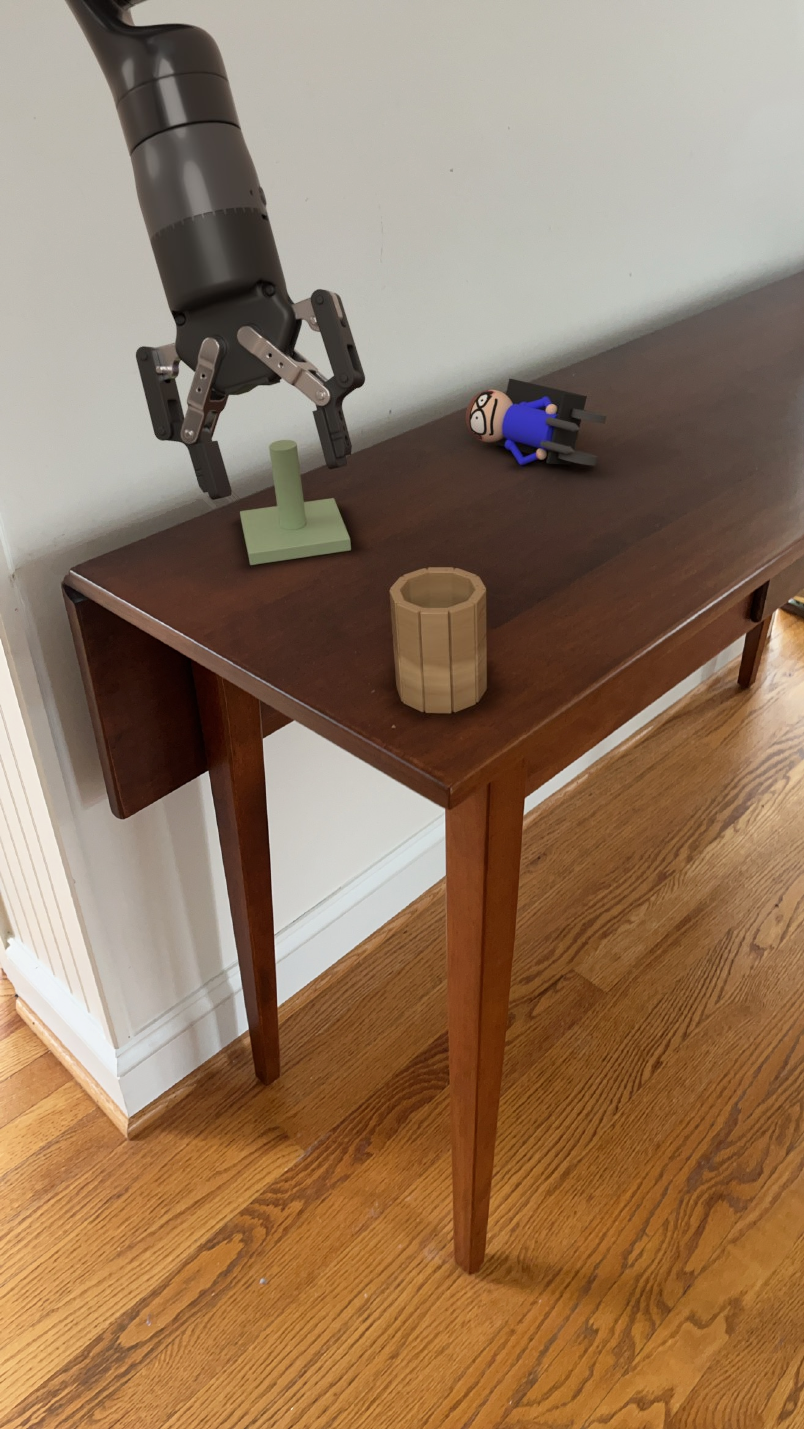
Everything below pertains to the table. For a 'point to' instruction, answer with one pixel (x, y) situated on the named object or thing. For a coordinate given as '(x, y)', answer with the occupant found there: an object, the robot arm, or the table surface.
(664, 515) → the table surface
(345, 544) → the stand
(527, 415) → the character figurine
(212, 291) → the robot arm
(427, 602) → the tan hollow cylinder
